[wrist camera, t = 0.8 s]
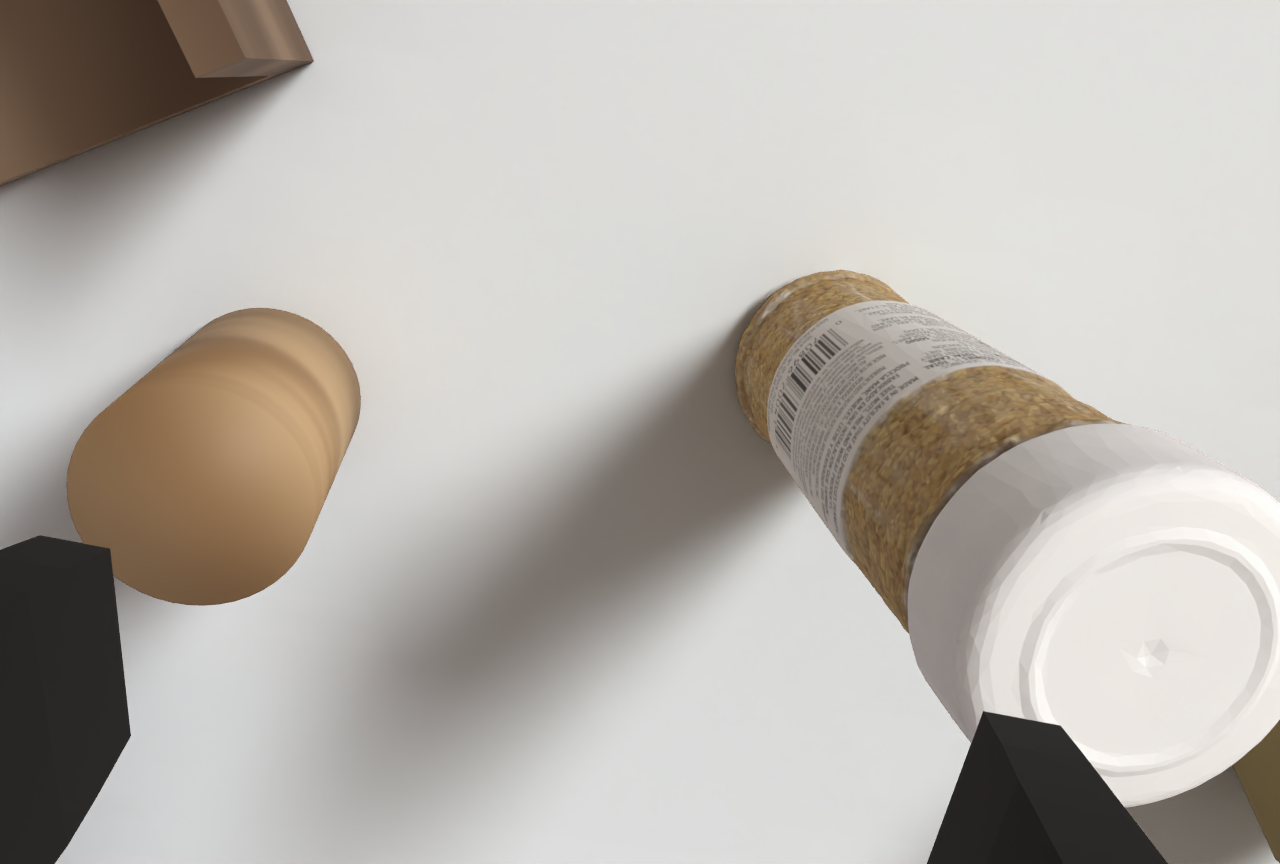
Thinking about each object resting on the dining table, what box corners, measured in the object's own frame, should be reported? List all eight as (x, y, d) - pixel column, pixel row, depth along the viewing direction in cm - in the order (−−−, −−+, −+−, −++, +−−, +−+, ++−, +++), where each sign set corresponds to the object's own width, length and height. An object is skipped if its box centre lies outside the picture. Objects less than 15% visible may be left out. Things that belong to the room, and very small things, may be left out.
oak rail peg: (227, 507, 24) (142, 638, 19) (138, 348, 23) (19, 438, 17) (390, 443, 24) (355, 555, 19) (311, 280, 23) (247, 348, 17)
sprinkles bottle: (828, 489, 26) (1133, 887, 13) (689, 375, 25) (881, 697, 12) (960, 346, 25) (1416, 624, 13) (823, 221, 24) (1180, 390, 11)
